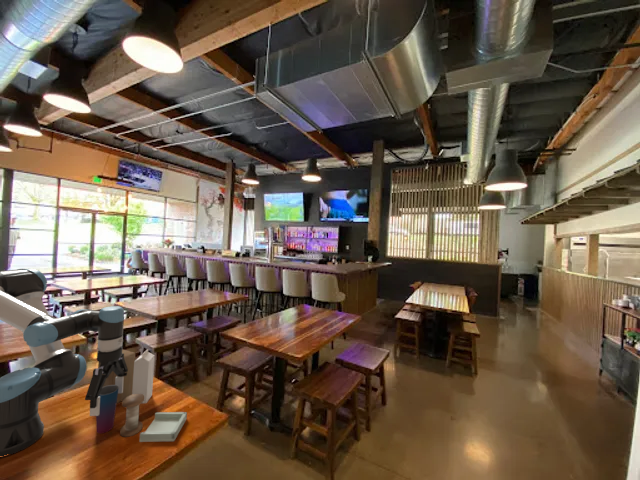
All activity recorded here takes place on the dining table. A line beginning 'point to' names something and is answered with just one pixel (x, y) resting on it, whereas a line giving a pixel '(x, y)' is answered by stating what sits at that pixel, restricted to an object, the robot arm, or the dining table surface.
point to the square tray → (164, 427)
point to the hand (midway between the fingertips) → (107, 403)
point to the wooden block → (128, 378)
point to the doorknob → (132, 415)
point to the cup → (107, 408)
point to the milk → (143, 375)
